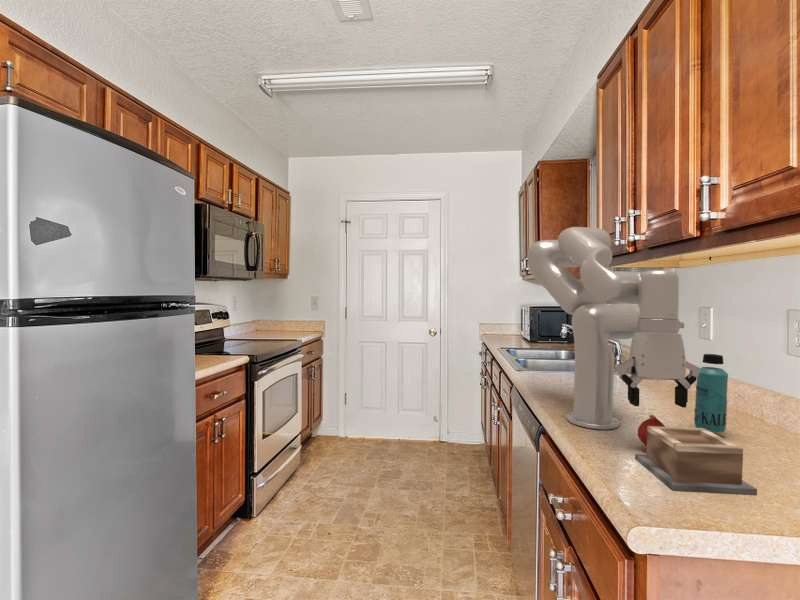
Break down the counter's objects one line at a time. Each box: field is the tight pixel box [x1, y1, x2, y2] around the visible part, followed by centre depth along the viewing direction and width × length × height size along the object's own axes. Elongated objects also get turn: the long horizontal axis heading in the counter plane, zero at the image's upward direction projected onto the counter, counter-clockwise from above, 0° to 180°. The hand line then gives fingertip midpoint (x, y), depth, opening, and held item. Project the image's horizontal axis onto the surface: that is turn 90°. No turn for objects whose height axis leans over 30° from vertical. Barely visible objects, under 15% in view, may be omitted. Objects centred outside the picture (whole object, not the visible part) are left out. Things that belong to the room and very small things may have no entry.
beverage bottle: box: [693, 353, 729, 434], centre depth 104 cm, size 6×7×20 cm
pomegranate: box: [637, 414, 666, 448], centre depth 93 cm, size 6×6×8 cm
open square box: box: [634, 426, 758, 496], centre depth 81 cm, size 14×14×8 cm
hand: (657, 405), depth 92 cm, fingers open, 9 cm apart
